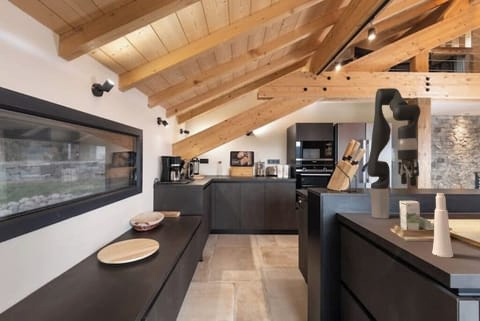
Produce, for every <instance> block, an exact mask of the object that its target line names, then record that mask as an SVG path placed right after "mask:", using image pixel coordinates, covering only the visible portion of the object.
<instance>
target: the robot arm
mask: <svg viewBox="0 0 480 321" xmlns="http://www.w3.org/2000/svg"><path fill="white" fill-rule="evenodd" d="M374 100H375V101H374V120H373V124H372V126H373V127H372V132H371V133H372V134H371V143H370V151H369V156H368V160H367V167H366V168H367V169H366V172H367V175H368V177H370V178H378V179H377V180H376V181H374V182H372V183H371V184H370V194H371V196H370V198H371V200H370V201H371V217H372V218H376V219H389V218H390V198H389V196H390V195H389V194H390V193H389V184H390V166H389V164H388V162H387V161H383V160H382V161H379V157H380V155H381V154H382V152H383V151H384V149H385V148H386V147H387V145H388V144H389V142H390V139H391V132H392V131H391V129H392V128H391V126H390V124H389V122H388V120H387V119H386V117H385V115H384V113H383V112H384V111H383V106H389V109H390V111H392V118H393V120H395V121H397V122H403V121H404V122H405V121H409V123H408V124H405V125H401V126H399V127H398V128H397V159H398V160H399V161H398V162H397V164H398V165H397V166H398V167H397V169H398V170H397V171H398V172H397V174H398V175H399V176H400V183H401V185H407V184H408V176H409V186H410V187H416V186H417V177H419V176H420V169H419V168H420V167H419V162H418V161H415V160H417V159H419V158H418V157H419V156H418V153H419V152H418V142H417V127H418V122H419V118H420V115H421V107H420V106H419V105H418V104H414V103H413V104H409V103H408V101H406V100H405V99H403V97H402V95H401V93H400V91H399V90H398V89H397V88H393V87H389V88H386V87H385V88H377V90H376V93H375V99H374Z"/></svg>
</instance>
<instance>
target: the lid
mask: <svg viewBox="0 0 480 321" xmlns="http://www.w3.org/2000/svg"><path fill="white" fill-rule="evenodd" d="M431 221H432V220H428V219H426V218H425V217H424V218H423V217H422V216H420V227H422V228H424V229H426V230H434V222H431ZM449 231H453V228H451V227H450V226H449Z"/></svg>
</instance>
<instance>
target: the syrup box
mask: <svg viewBox="0 0 480 321" xmlns="http://www.w3.org/2000/svg"><path fill="white" fill-rule="evenodd" d="M420 209H421V207H420V202H419V201H416V200H399V223H400V224H399V225H400V227H401V228H402V229H404V230H420V217H421V216H420V214H421V213H420V212H421V211H420Z"/></svg>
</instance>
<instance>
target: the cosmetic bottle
mask: <svg viewBox="0 0 480 321" xmlns="http://www.w3.org/2000/svg"><path fill="white" fill-rule="evenodd" d="M446 201H447V200H446V196H445V193H441V192H437V193H436V196H435V209H434V218H433V219H434V222H433V223H434V241H433V245H432V246H433V247H432V251H431V253H432V254H433V255H435V256H436V255H437V257H440V258H452V257H454V252H453V248H452V243H451V242H452V240H451V241H450V239H451V234H450V233H451V232H450V230H449V227H450V223H449V212H448V210H447V206H446V205H447V203H446Z"/></svg>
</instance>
